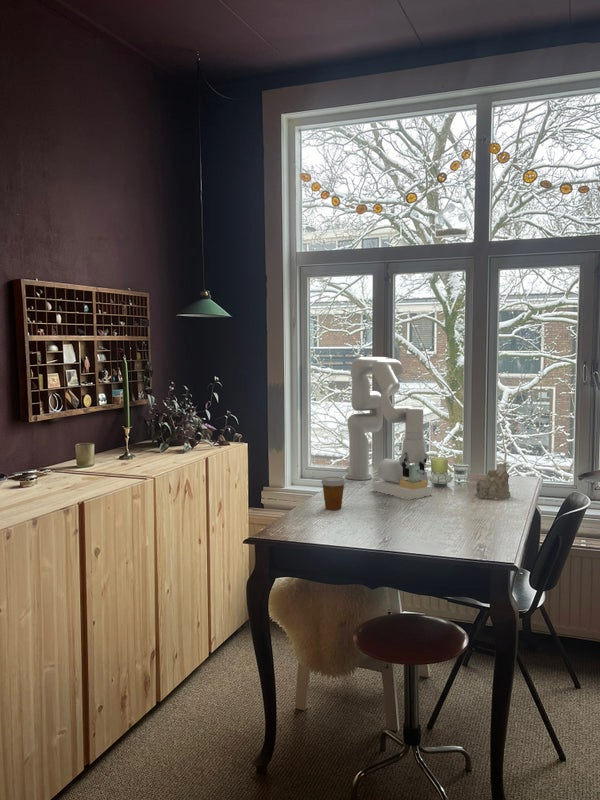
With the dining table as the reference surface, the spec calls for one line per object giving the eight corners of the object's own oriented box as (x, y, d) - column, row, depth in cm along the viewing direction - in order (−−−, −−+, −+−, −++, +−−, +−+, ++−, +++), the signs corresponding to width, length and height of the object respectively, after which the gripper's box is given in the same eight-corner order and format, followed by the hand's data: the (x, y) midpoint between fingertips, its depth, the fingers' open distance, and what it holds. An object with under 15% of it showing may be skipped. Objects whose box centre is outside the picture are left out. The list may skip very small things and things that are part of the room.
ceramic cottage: (502, 490, 298) (501, 457, 296) (515, 499, 282) (515, 465, 280) (468, 492, 298) (467, 459, 296) (479, 502, 281) (478, 467, 279)
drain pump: (405, 486, 288) (405, 465, 287) (412, 484, 291) (413, 464, 290) (418, 489, 282) (418, 468, 281) (426, 487, 285) (426, 466, 284)
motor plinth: (373, 490, 297) (373, 459, 296) (394, 486, 306) (395, 456, 304) (410, 499, 280) (410, 466, 279) (432, 495, 288) (432, 463, 287)
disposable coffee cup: (340, 512, 259) (340, 482, 258) (317, 509, 263) (317, 479, 262) (348, 507, 267) (348, 477, 266) (326, 504, 271) (326, 475, 270)
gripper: (420, 433, 294) (420, 471, 295) (393, 436, 283) (393, 476, 284) (434, 435, 288) (433, 474, 289) (406, 438, 277) (406, 479, 279)
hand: (413, 475), depth 287 cm, fingers open, 9 cm apart
